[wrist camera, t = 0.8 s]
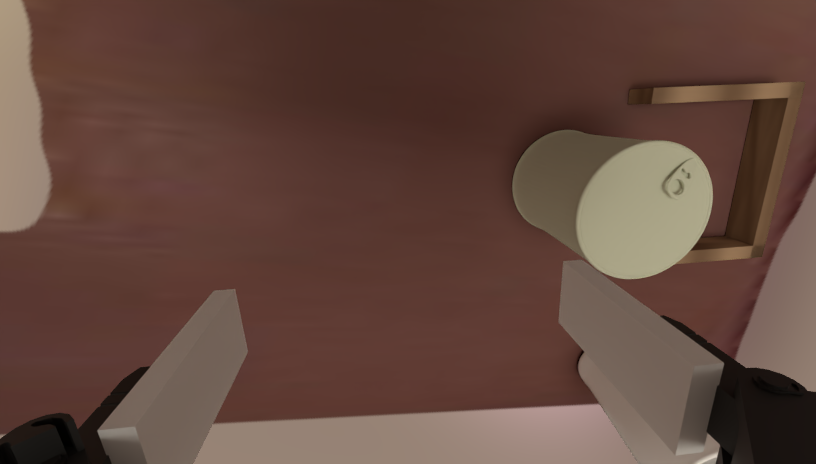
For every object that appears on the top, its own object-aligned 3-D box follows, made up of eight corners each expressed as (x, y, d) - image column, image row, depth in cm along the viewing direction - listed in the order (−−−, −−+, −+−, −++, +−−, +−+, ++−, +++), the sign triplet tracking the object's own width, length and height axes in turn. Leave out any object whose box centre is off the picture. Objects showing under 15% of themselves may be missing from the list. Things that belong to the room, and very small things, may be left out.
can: (628, 171, 36) (749, 199, 25) (561, 248, 38) (645, 308, 26) (559, 107, 34) (657, 107, 22) (491, 192, 36) (549, 232, 24)
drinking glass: (560, 350, 41) (663, 476, 27) (620, 323, 41) (754, 436, 27) (579, 396, 44) (682, 536, 29) (635, 371, 43) (768, 499, 29)
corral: (609, 256, 39) (628, 267, 36) (629, 89, 34) (653, 87, 31) (733, 246, 40) (761, 257, 37) (769, 83, 35) (805, 81, 32)
